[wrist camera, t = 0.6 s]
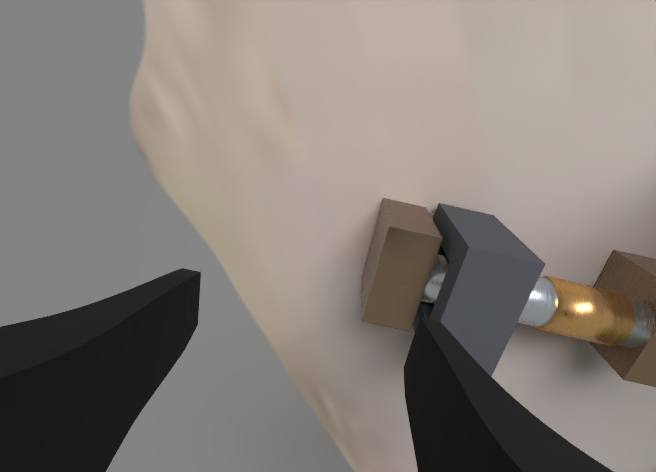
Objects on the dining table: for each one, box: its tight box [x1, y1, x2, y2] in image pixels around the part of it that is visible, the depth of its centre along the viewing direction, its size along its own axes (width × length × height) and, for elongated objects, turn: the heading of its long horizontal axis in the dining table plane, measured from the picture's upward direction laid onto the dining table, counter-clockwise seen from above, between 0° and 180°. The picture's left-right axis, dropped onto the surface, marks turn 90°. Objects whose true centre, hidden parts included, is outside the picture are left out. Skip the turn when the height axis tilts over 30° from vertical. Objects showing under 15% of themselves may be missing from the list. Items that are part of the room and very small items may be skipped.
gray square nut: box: [413, 203, 545, 376], centre depth 18 cm, size 3×6×6 cm, turn 168°
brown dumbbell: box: [362, 198, 656, 387], centre depth 19 cm, size 15×5×5 cm, turn 78°
